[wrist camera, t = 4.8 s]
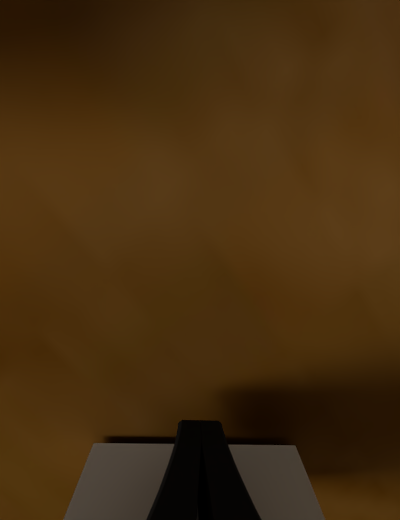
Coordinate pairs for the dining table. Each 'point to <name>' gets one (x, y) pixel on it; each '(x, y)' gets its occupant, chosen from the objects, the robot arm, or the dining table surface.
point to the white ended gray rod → (153, 469)
